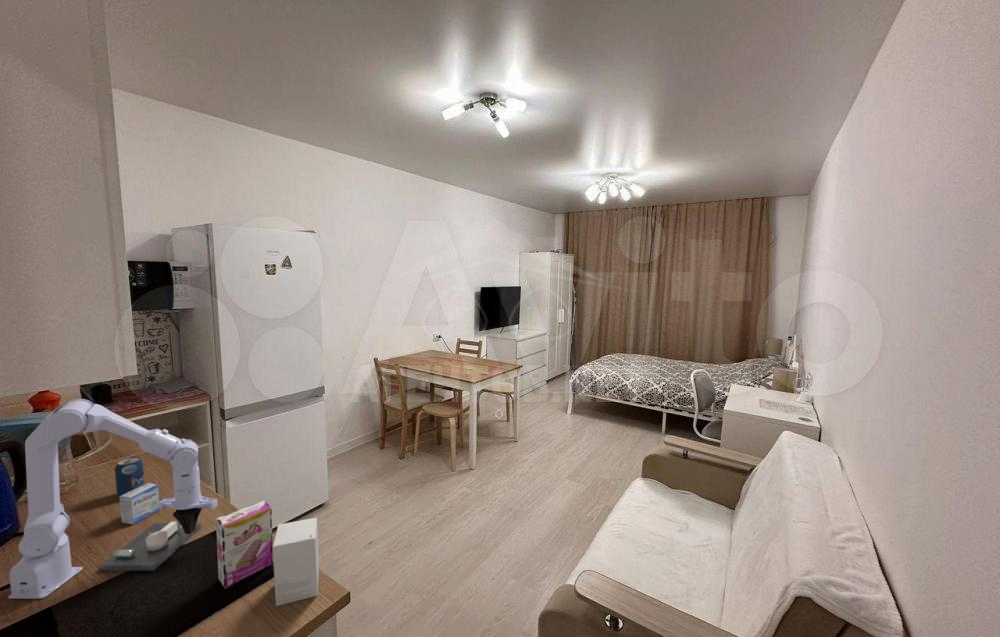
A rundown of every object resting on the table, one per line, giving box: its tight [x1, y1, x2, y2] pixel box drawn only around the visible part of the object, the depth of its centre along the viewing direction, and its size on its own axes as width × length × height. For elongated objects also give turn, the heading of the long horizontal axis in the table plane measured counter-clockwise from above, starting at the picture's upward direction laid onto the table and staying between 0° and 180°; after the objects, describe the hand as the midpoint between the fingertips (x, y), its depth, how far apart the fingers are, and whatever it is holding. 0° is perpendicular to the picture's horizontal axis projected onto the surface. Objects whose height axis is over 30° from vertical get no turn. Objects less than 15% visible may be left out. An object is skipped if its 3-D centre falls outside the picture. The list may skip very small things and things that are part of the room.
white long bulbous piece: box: [146, 519, 180, 551], centre depth 112 cm, size 9×4×3 cm, turn 2°
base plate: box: [99, 522, 202, 572], centre depth 111 cm, size 17×13×3 cm
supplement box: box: [272, 517, 320, 607], centre depth 98 cm, size 9×9×15 cm
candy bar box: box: [215, 500, 274, 590], centre depth 102 cm, size 11×5×16 cm, turn 141°
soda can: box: [114, 455, 146, 498], centre depth 135 cm, size 7×7×12 cm
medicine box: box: [118, 482, 161, 525], centre depth 124 cm, size 8×4×9 cm, turn 168°
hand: (190, 531), depth 113 cm, fingers closed
